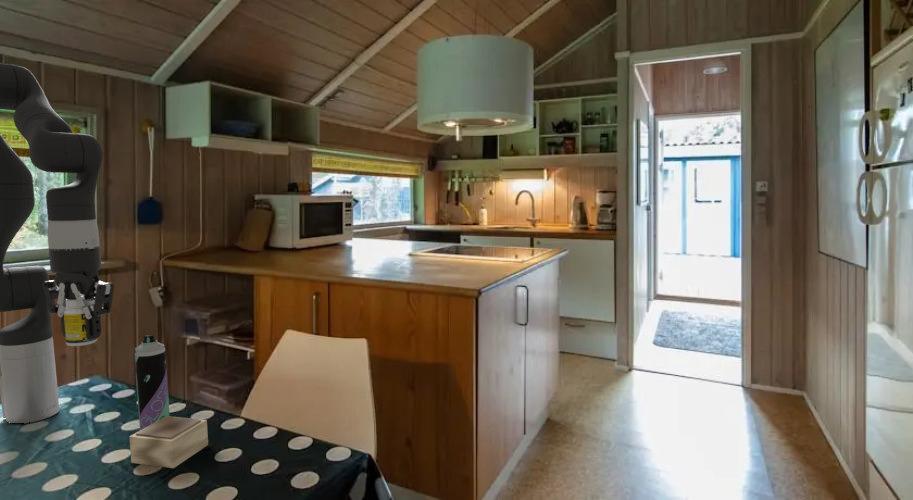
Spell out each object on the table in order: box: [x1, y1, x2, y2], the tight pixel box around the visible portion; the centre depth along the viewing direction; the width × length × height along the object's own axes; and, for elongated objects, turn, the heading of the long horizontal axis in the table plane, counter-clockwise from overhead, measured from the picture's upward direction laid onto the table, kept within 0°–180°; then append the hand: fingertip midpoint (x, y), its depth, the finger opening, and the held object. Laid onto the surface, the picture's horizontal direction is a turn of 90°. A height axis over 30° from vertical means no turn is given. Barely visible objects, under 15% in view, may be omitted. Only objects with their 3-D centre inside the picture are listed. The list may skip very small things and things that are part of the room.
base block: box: [128, 415, 209, 469], centre depth 99 cm, size 9×9×5 cm
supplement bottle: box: [64, 298, 98, 347], centre depth 97 cm, size 5×5×8 cm
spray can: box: [133, 334, 171, 431], centre depth 108 cm, size 6×6×20 cm
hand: (82, 336), depth 97 cm, fingers closed on supplement bottle, 4 cm apart
